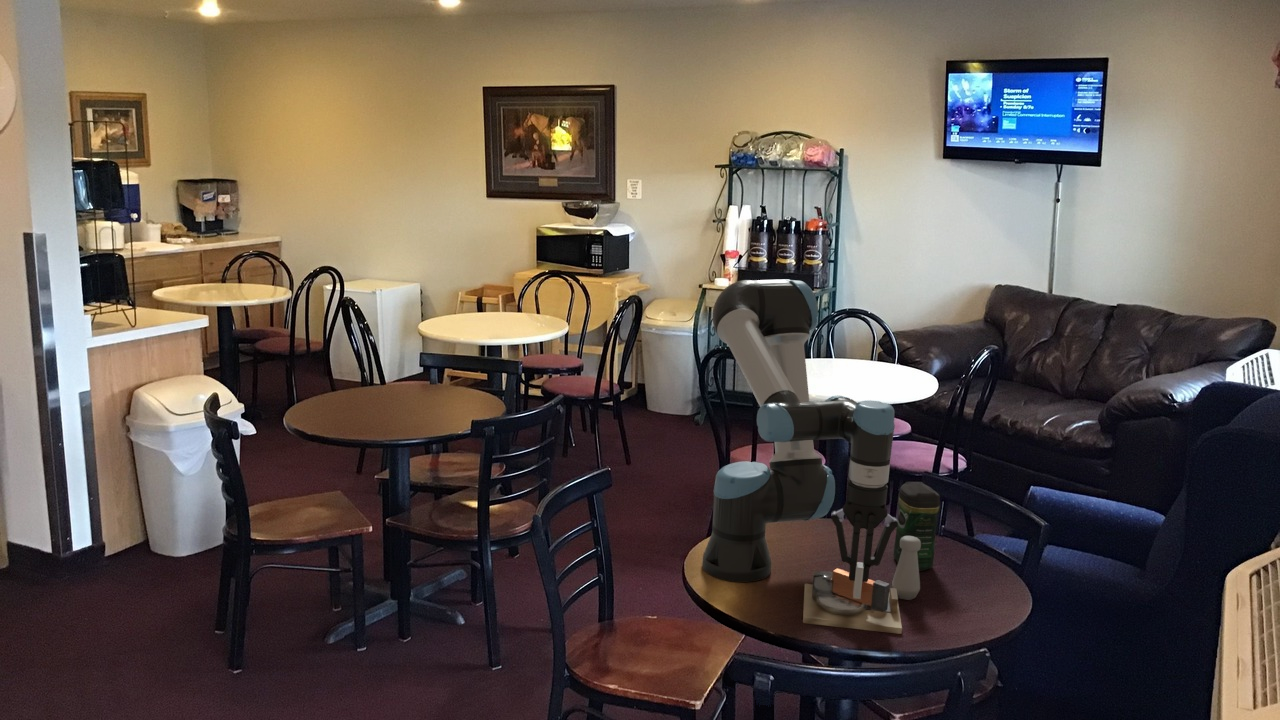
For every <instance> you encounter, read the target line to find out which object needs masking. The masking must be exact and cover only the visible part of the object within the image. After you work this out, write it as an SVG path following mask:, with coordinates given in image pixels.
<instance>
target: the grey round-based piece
mask: <svg viewBox="0 0 1280 720" xmlns="http://www.w3.org/2000/svg"><path fill="white" fill-rule="evenodd" d="M812 584H813V587H812V599H813V600H815V601H816V603H817V605H818V606H819V607H820V608H822V609H823V610H825V611H828V612H830V613H834V614H839V615H856V614H860V613H862V612H864V611H865V610H866V605H870V606H871V608H873V609H875V610H878V611H881V612H884V611H886V610H887V608H888V598H889V593H890V588H891V586H890V585H891V583H888V582H885V581H882V580H880V579H876V580H873V579H870V578H868V581H867V582H862V589H861V599H855V598H853V587H854V581H851V580H850V579H849V571H847V570H844V569H841V568H836V569H834V570H832V571H828V570H817V571H814V572H813V575H812Z"/></svg>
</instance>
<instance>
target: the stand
mask: <svg viewBox="0 0 1280 720" xmlns="http://www.w3.org/2000/svg"><path fill="white" fill-rule="evenodd" d="M812 587H813V583H804V589H803V590H804V592H803V612H802V613H803V614H802V624H809V625H816V626H817V625H819V626H827V627H828V626H829V627H836V628H845V629H855V630H862V631H863V630H864V631H870V632H871V631H872V632H882V633H888V634H889V633H892V634H898V635H901V634H902V632H903V630H902V629H903V626H902V620H901V613H900V607H899V606H900V605H899V598H898V596H897V590H896V588H893V587H889V598H888V608H887V610H886V611H884V612H881V611H878V610H875V609H873V608H871V606H870V605H866V610H865V611H864V612H862V613H860V614H856V615H839V614H834V613H830V612H828V611H825V610H823V609H822V608H820V607H819V606H818V605H817V603H816V601H815V600H813V599H812Z"/></svg>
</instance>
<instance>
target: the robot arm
mask: <svg viewBox="0 0 1280 720" xmlns="http://www.w3.org/2000/svg"><path fill="white" fill-rule="evenodd" d="M818 307H819V306H818V301H817V299H816V296H815V294H814V291H813V290H812V288H811V287H810V286H809V285H808V284H807V283H806V282H804V281H802V280H794V279H787V278H785V279H760V280H759V279H758V280H757V279H754V280H753V279H752V280H751V279H742V280H738V281H735V282H733V283H731V284H730V285H728V286H726V287H725V288H724V289H723V290H722V291H721V292H720V293H719V295H718V296H717V298H716V300H715V303H714V306H713V308H712V324H713V327H714V331H715V332H716V334H717V336H718V339H719V340H720V341H721V342H722V343H724V344H727V346H728V347H729V349H730V351H731V353H732V355H733V358H734V359H735V361H736V363H737V365H738V367H739V369H740V371H741V373H742V374H743V377H744V378H745V380H746V382H747V384H748V386H749V388H750V390H751V392H752V394H753V395H754V397H755V399H756V402H757V403H758V405H759V408H758V410H757V414H756V426H757V431H758V434H759V436H760V437H761V439H762V440H763V441H765V442H769V443H772V442H773V443H774V452H775V453H774V454H773V456H772V457H771V458H770V460H769V461H768V462H769V465H767V464H765V463H763V462H761V461H760V462H759V461H752V462H751V461H749V460H747V461H746V460H743V461H736V462H732V463H729V464H727V465H724V466H722V467H721V468H720V469H719V470H718V471H717V472H716V474H715V481H714V487H713V511H712V512H713V513H712V527H711V528H712V530H711V533H710V534H711V535H710V537H709V540H708V542H707V544H706V547H705V550H704V552H703V554H702V563H701V564H702V569H703V570H704V572H706V573H707V575H710V576H711V577H714V578H716V579H719V580H722V581H727V582H735V583H749V582H750V583H751V582H757V581H761V580H763V579H766V578H767V577H768V576H769V575H770V574H771V571H772V558H771V554H770V550H769V547H768V543H767V539H766V530H767V529H766V527H767V524H770V523H771V524H772V523H782V522H783V523H784V522H796V521H805V522H806V521H810V520H815V519H820V518H824V517H825V516H826V515H827V514H828V513H829V511H830V510H831V508H832V506H833V503H834V500H835V494H836V481H835V477H834V476H835V475H833V470H832V469H831V468H830V467H829V466H827V465H824V464H823V458H822V456H821V455H820V454H819V453H817V451H815V448H814V447H815V446H814V440H815V441H818V440H837V439H841V440H845V441H846V442H847V443H850V444H851V445H850V456H849V466H848V479H849V480H848V481H847V486H846V487H847V488H846V496H845V497H846V499H845V502H844V503H843V505H842V508H840V509H838V510H832V511H831V515H830V517H831V521H832V522H833V525H834V526H835V529H836V534H837V540H838V547H839V552H840V553H839V554H840V558H841V561H842V562H843V563H847V564H848V565H849V568H848V569H849V571H848V572H849V579H850V580H851V581H854V587H853V598H855V599H861V589H862V582H867V581H868V579H870V578H869V576H870V569H871V567H873V566H877V567H879V566H880V564H881V561H882V558H883V556H884V554H885V551H886V548H887V545H888V544H889V540H890V537H891V534H892V533H893V532H894V530H895V529H897V526H898V517H895V516H892V515H891V514H889V511H888V508H887V498H888V496H887V495H888V488H889V487H888V485H887V483H889V478H890V477H889V475H890V467H891V466H890V465H891V455H892V448H893V439H894V433H895V427H896V426H895V408H894V407H893V406H892V405H891V404H889V403H887V402H882V401H879V400H861V401H858V402H857V401H855V400H854V399H852V398H850V397H846V396H843V395H832V396H831V397H829V398H827V399H825V400H824V401H810V394H809V384H808V373H807V372H808V371H807V365H806V364H807V362H806V352H805V344H806V342H807V341H808V339H810V337H811V334H810V331H811V330H813V329H814V328H815V326H816V325H817V323H818V317H819V308H818ZM844 516H845V517H846V518H847V520H848V522H849V523H850V525H851V526H852V536H851V546H850V548H851V549H850V554H849V553H848V550H847V549H848V547H847V544H846V543H847V542H846V536H845V532H844V525H843V522H844V521H845V520H844V519H845V517H844ZM883 521H884V523H883V524H884V527H883V530H882V532H881V535H880V538H879V540H878V544H877V546H876V548H875V551H874V554H873V556H872V549H873V540H874V534H875V533H874V531H875V529H876V528H877V527H878V526H879V525H880V524H881V523H882V522H883ZM861 529H866V530H865V538H864V540H865V541H864V548H863V549H864V550H863V559H862V560H863V561H862V562H861V561H858V554H859V545H860V544H859V543H860V534H861Z"/></svg>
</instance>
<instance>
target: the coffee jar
mask: <svg viewBox="0 0 1280 720" xmlns="http://www.w3.org/2000/svg"><path fill="white" fill-rule="evenodd" d="M940 498H941V496H940V494H939V493H938V492H937V491H935V490H934V489H933V488H932V487H930V485H927V484H925V483H924V482H922V481H905V483H903V484H902V485H901V486H900V488H899V494H898V513H897V521H898V526H897V527H896V528H895V529H896V530H895V531H896V532H895V538H894V546H893V554H892V555H893V558H894V560H895V561H896V562H897V563H898V562H899V559H900V555H901V552H902V549H901V548H900V539H901V538H902V537H904V536H914V537H917V538H918V539H919V540H920V541H921V548H920V550H919V551H917V555H918V567H919V572H920V571H926V570H931V569H932V568H933V566H934V560H935V559H934V558H935V548H936V546H935V545H936V534H937V533H936V532H937V524H938V523H937V521H938V514H939V510H940V504H941V503H940V501H941V499H940Z"/></svg>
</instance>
